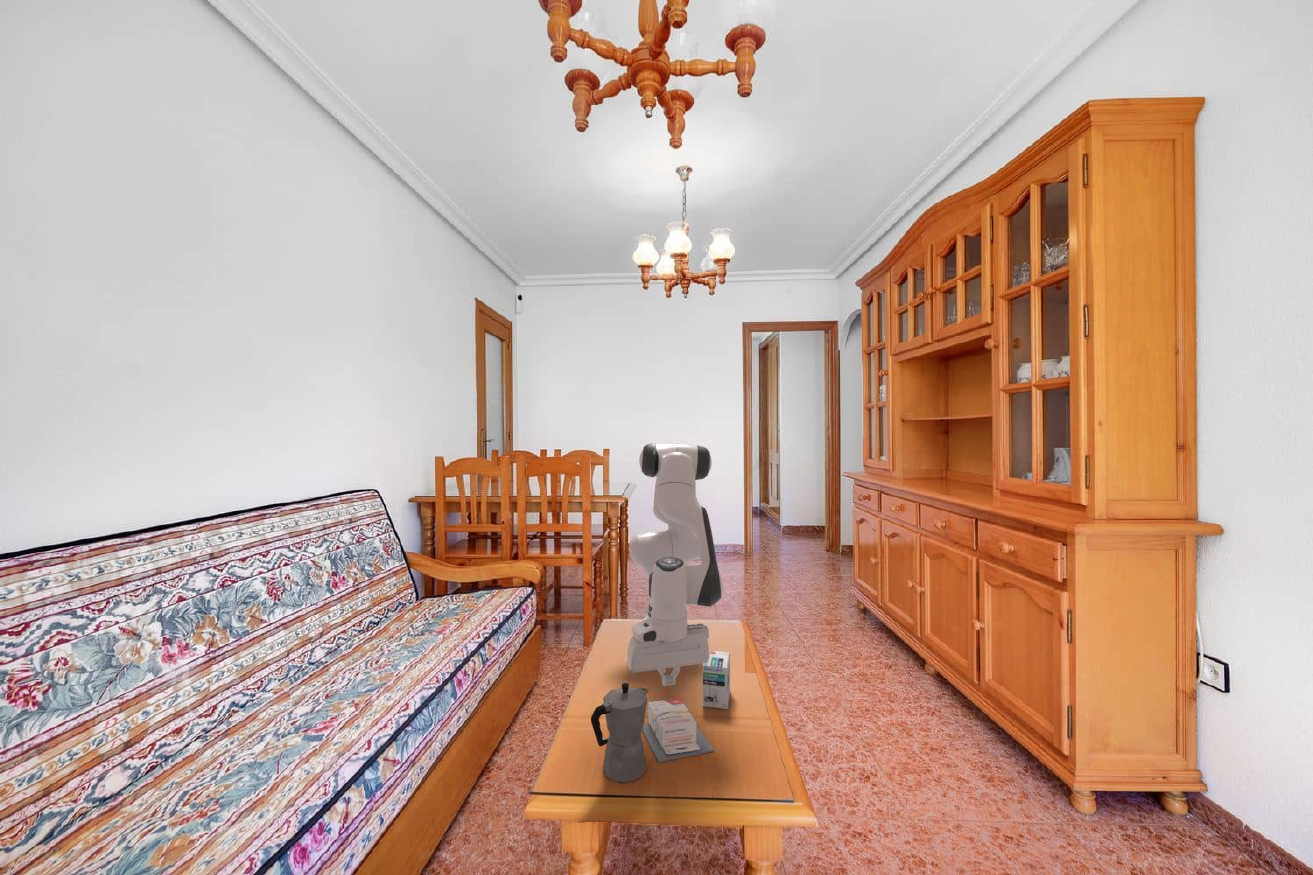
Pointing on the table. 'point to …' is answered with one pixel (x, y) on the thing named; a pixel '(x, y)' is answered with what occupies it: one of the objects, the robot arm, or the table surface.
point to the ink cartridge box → (673, 725)
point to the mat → (662, 756)
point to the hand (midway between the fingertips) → (668, 684)
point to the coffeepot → (622, 733)
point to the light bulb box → (716, 680)
